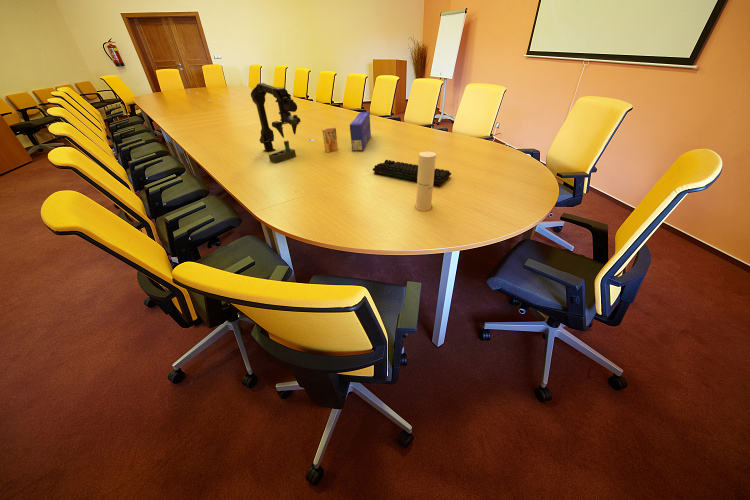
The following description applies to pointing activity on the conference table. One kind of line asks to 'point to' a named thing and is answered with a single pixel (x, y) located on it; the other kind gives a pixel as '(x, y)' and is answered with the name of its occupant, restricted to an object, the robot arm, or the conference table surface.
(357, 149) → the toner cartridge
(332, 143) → the candy box
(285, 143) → the capped tube
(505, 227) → the conference table surface
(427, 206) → the cylindrical container
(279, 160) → the organiser
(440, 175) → the keyboard
